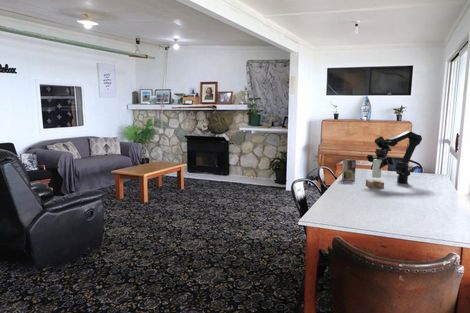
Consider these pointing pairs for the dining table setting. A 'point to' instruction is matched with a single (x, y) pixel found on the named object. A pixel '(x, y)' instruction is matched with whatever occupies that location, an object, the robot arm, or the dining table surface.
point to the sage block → (376, 168)
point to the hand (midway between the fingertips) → (376, 168)
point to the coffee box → (348, 169)
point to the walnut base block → (374, 183)
